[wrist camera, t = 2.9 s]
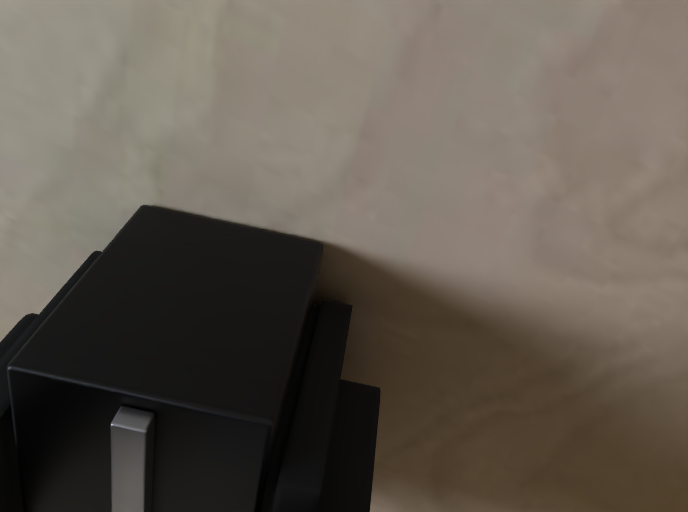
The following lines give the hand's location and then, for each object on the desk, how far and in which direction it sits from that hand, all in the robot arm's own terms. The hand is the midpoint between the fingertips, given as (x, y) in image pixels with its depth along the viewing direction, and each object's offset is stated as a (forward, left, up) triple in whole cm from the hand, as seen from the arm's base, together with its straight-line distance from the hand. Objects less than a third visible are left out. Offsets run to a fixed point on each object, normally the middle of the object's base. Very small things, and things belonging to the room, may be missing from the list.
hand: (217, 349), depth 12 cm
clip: (0, 0, 0) cm, 0 cm away
